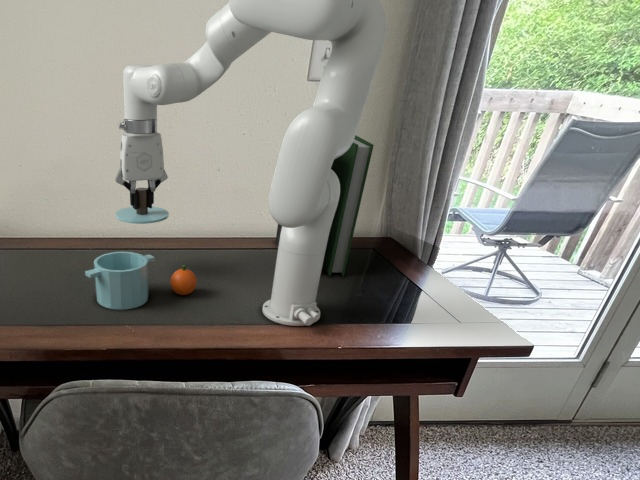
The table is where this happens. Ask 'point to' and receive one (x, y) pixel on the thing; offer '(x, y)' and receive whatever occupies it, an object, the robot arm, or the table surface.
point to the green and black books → (345, 204)
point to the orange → (183, 281)
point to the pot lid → (142, 211)
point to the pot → (121, 279)
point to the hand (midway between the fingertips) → (142, 206)
